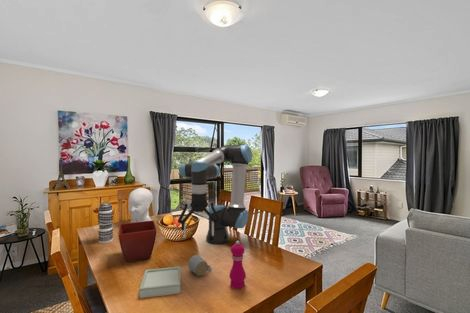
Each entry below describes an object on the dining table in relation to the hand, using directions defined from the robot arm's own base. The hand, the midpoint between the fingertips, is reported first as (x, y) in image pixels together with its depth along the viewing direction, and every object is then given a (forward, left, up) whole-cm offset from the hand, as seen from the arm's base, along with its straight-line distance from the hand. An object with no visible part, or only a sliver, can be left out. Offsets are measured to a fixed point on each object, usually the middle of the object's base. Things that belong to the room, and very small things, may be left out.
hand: (198, 235), depth 117 cm
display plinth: (+17, +8, -18) cm, 26 cm away
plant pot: (+33, -26, -18) cm, 46 cm away
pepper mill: (-16, +15, -18) cm, 29 cm away
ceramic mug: (-1, 0, -19) cm, 18 cm away
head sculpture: (+42, -87, -18) cm, 98 cm away
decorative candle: (+58, -55, -18) cm, 82 cm away
